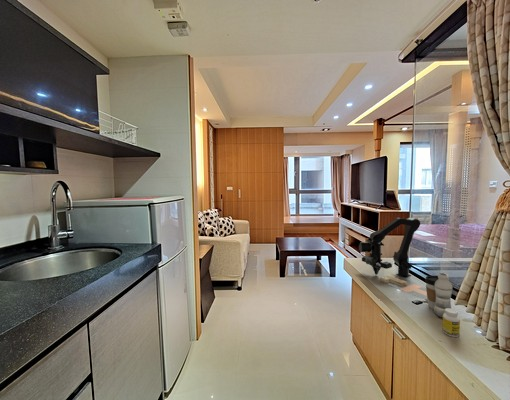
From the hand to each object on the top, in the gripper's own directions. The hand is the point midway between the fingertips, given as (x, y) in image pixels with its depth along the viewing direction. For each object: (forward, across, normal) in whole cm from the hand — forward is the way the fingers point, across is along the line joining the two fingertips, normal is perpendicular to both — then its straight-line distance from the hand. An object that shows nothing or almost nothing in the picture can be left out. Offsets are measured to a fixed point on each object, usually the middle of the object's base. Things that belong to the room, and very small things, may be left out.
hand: (376, 274), depth 156 cm
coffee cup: (+1, +40, -10) cm, 41 cm away
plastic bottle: (+1, +46, -16) cm, 49 cm away
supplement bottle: (+1, +54, -27) cm, 60 cm away
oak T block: (+1, +13, 0) cm, 13 cm away
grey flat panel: (+1, +20, 0) cm, 20 cm away
